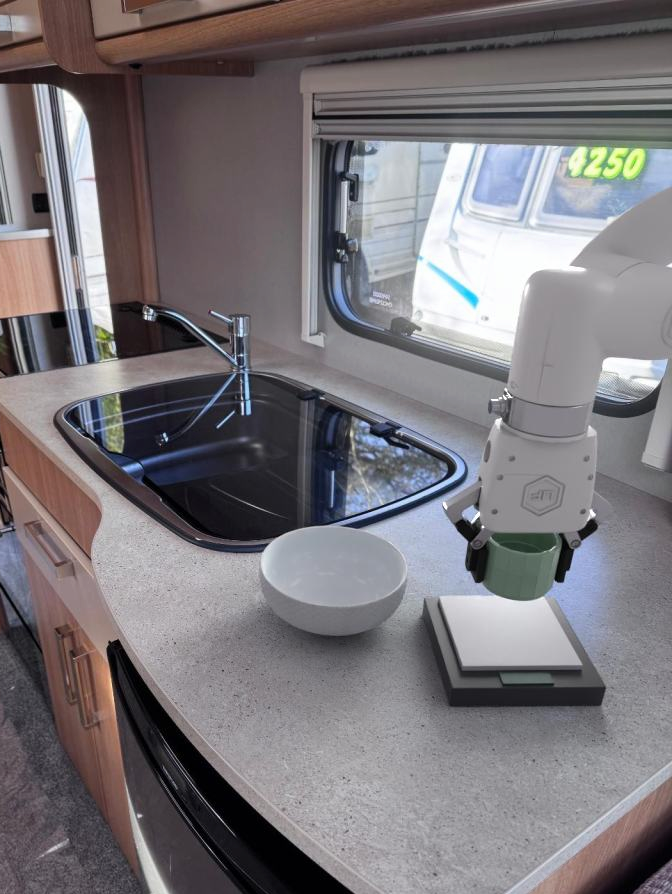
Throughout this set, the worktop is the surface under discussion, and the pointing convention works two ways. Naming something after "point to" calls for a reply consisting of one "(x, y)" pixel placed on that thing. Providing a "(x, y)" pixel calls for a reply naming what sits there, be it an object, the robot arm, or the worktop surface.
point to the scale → (509, 653)
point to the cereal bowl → (333, 579)
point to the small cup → (521, 564)
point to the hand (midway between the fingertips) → (515, 574)
